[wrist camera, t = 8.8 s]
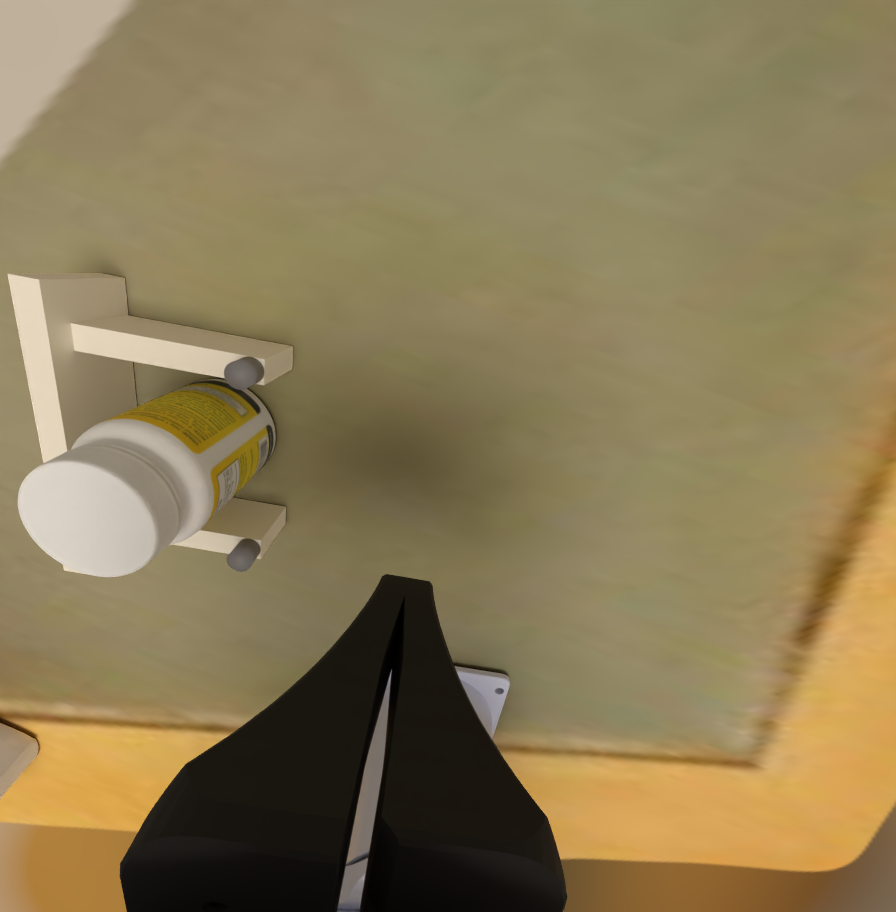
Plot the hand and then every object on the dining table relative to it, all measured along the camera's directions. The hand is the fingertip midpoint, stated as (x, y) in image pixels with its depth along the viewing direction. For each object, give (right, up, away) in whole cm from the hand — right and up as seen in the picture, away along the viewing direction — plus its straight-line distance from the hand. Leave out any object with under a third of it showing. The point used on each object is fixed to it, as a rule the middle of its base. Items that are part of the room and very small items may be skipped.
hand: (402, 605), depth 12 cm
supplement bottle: (-9, +6, +8) cm, 14 cm away
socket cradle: (-10, +5, +8) cm, 14 cm away
